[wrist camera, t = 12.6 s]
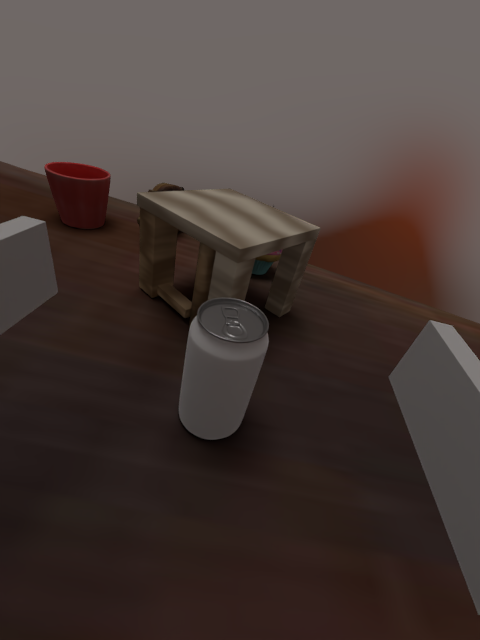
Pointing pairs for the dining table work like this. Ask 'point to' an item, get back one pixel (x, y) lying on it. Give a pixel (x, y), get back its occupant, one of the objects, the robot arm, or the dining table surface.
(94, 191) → the flower pot
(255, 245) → the stool
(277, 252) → the cupcake
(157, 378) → the dining table surface
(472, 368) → the robot arm
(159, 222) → the gate leg
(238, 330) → the can
